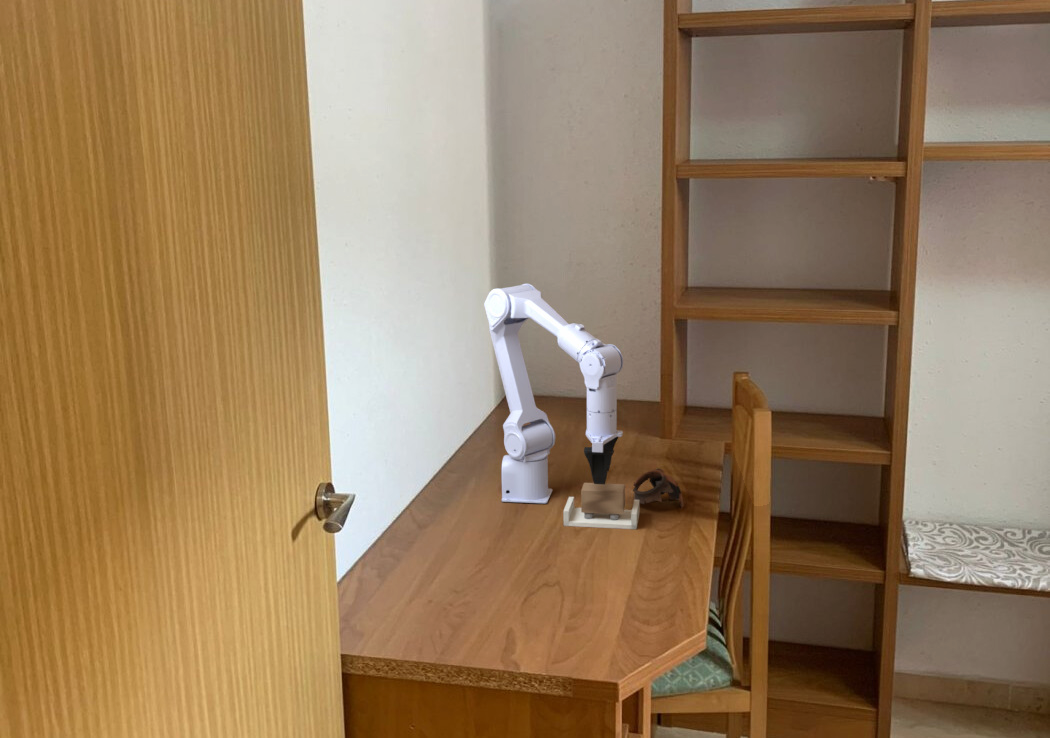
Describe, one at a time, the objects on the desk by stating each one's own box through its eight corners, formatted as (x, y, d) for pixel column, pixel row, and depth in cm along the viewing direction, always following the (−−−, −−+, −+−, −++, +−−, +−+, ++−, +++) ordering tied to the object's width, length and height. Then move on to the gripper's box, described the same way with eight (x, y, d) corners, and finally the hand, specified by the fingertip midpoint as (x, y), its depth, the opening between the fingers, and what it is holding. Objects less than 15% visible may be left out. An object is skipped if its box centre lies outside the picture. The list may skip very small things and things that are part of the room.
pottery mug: (689, 515, 205) (671, 484, 202) (646, 533, 208) (628, 503, 204) (683, 481, 216) (666, 451, 212) (642, 498, 218) (625, 469, 215)
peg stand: (563, 525, 199) (563, 511, 199) (569, 510, 207) (569, 496, 206) (636, 529, 197) (636, 514, 196) (639, 514, 205) (639, 499, 204)
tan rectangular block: (581, 512, 200) (581, 490, 199) (584, 504, 204) (584, 482, 203) (622, 514, 199) (622, 492, 198) (624, 506, 203) (624, 484, 202)
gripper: (619, 420, 189) (618, 490, 192) (625, 399, 203) (625, 465, 206) (580, 419, 191) (581, 488, 194) (590, 398, 204) (590, 464, 208)
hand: (601, 476), depth 200 cm, fingers open, 7 cm apart
